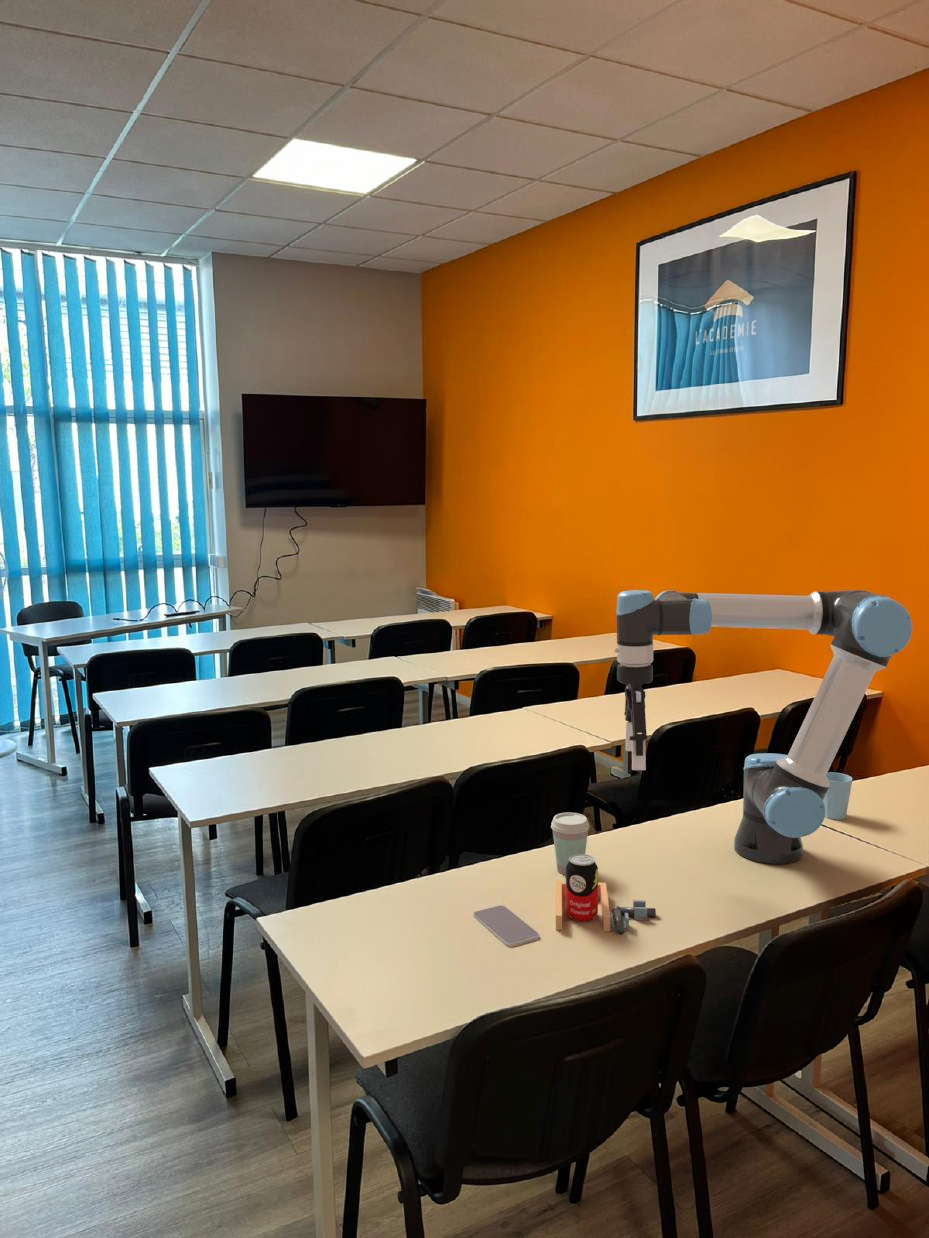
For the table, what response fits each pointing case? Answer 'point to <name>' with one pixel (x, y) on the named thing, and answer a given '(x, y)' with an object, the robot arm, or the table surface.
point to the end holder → (601, 895)
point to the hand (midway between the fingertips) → (635, 759)
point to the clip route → (637, 911)
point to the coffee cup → (569, 837)
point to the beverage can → (582, 888)
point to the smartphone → (506, 925)
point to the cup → (837, 796)
